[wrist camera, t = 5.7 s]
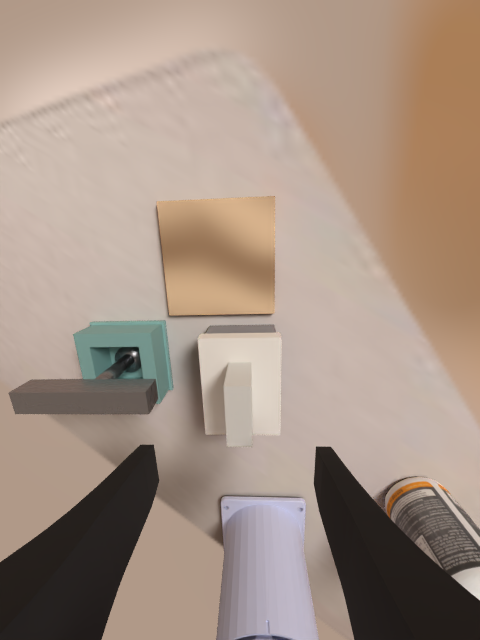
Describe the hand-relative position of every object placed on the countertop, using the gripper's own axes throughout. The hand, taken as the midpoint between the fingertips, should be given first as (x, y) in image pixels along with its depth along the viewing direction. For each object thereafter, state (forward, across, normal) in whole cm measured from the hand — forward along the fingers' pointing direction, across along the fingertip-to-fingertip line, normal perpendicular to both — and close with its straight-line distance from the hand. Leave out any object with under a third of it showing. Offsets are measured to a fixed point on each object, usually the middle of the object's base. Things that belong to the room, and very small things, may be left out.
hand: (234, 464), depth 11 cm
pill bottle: (+10, -16, +14) cm, 23 cm away
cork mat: (+10, +2, -8) cm, 13 cm away
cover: (+7, 0, 0) cm, 7 cm away
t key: (+9, +9, -1) cm, 13 cm away
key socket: (+10, +9, -1) cm, 13 cm away
